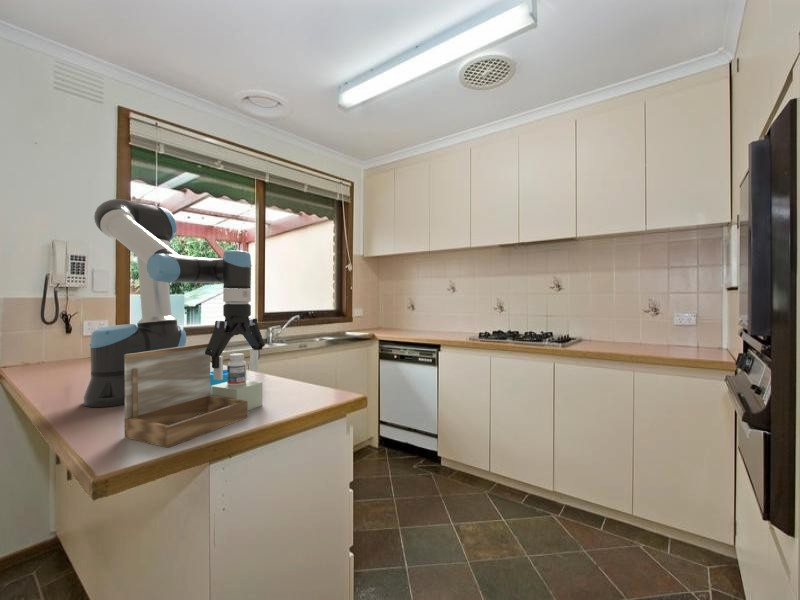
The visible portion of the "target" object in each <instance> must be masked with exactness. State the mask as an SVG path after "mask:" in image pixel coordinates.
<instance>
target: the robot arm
mask: <svg viewBox="0 0 800 600" xmlns="http://www.w3.org/2000/svg"><path fill="white" fill-rule="evenodd" d="M93 218H94V224H95V225H96V227H97V228H98V229H99V231H101V233H103V234H104V235H106V236H107V237H108V238H110V239H115V240H117V241H118V242H119V243H121V244H122V245H123V246H124V247H125V248H127V249H128V250H129V251H130V252H132V253H133V254H134V255H135V256H136V257H137V258H136V259H137V260H136V261H137V270H138V271H137V272H138V282H139V284H138V285H139V293H140V294H139V296H140V307H141V319H140V320H138V322H137V324H134V323H125V324H116V325H109V326H105V327H100V328H97V329H95V330H94V331H93V332H92V333H91V336H90V344H89V347H90V380H89V382H88V385H87V387H86V390H85V393H84V395H83V406H85V407H89V408H105V407H106V408H107V407H115V406H121V405H125V359H124V354H130V353H138V352H145V351H153V350H160V349H167V348H175V347H182V346H186V344H187V332H186V330H185V328H184V327H183V326H182V325H180V324H178V320H177V319H176V318H175V317H174V316H173V315H172V306H171V294H170V293H171V292H170V283H195V284H197V283H198V284H211V285H214V284H223V286H222V289H223V293H222V295H223V296H222V298H223V299H222V301H223V302H224V304H223V306H222V307H223V308H222V310H223V313H222V315H223V317H224V320H216V321H215V323H214V330H213V331H212V334H211V337H210V339H209V341H208V343H209V344H208V346H207V349H206V351H205V354H206V355H209V356H210V358H211V368H212V369H213V371H214V379H216V380H223V370H224V364H223V363H224V357H223V356H222V353H223V351H224V350H225V348H226V347H227V345H228V344H229V342H230V340H231V339H232V338H233V337H234V336H239V335H242V336H243V337H244V339H245V340H246V342H247V343H248V345H249V346H250V347H251V349H250V350H249V371H251V372H252V371H253V372H258V371H259V360H260V351H261V350H263V349H264V348H263V347H265V346H266V343H265V341H264V339H263V335H262V333H261V330H260V328H259V326H258V319H257V318H255V317H253V318H252V317H251V315H252V305H251V301H252V299H251V298H252V297H251V295H252V291H251V290H252V288H251V287H252V261H251V258H252V257H251V253H250V252H248V251H245V250H233V249H231V250H225V251H224V252H223V256H222V258H210V257H209V258H208V257H198V256H197V257H196V256H189V255H188V256H187V255H181V254H179V253H177V252H176V251H174V249H172V248H170V247H169V246H170V245H171V241H173V240H174V238H175V236H176V233H177V231H178V230H177V229H178V227H177V222H176V218H175V216H174V214H173V213H172V212H171V211H170V210H168V209H167V208H164V207H161V206H158V205H154V204H153V205H151V204H147V203H142V202H137V201H131V200H127V199H123V198H122V199H120V198H115V199H114V198H113V199H108V200H106V201H104V202H102V203H101V204H99V206H97V208H96V209H95V212H94V216H93Z"/></svg>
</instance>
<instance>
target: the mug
mask: <svg viewBox="0 0 800 600" xmlns="http://www.w3.org/2000/svg"><path fill="white" fill-rule="evenodd" d="M224 382H227V369H223V380H216V379H214V370H212V371H211V370H210V395H211V386H213V385H217V384H220V383H224Z"/></svg>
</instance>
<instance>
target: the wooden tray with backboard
mask: <svg viewBox="0 0 800 600" xmlns="http://www.w3.org/2000/svg"><path fill="white" fill-rule="evenodd" d="M208 344H209V342H205V343H198V344H191V345H185V346H182V347H175V348H167V349H160V350H153V351H145V352H138V353H130V354H124V359H125V404H124V438H125V439H131V440H135V441H138V442H143V443H147V444H151V445H156V446H159V447H162V448H163V447H164V448H167V449H169V448H172V447H174V446H176V445H179V444H181V443H185V442H188V441H189V440H192V439H194V438H197V437H200V436H203V435H205V434H208V433H210V432H213V431H215V430H218V429H221V428H224V427H226V426H228V425H231V424H234V423H236V422H238V421H242V420H244V419H246V418H247V419H248V411H249V410H248V401H245V400H238V399H232V398H225V397H219V396H212V395H210V372H211V356H209V355H206V354H205V351H206V349H207V346H208Z"/></svg>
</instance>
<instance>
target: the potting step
mask: <svg viewBox="0 0 800 600" xmlns="http://www.w3.org/2000/svg"><path fill="white" fill-rule="evenodd" d="M211 395H212V396H219V397H225V398H232V399H238V400H245V401H248V411H250V410H253V409H256V408H258V407H261V406H263V381H255V380H249V379H246V384H244V385H239V386H230V385H228V384H227V382H224V383H220V384H217V385H213V386H211Z"/></svg>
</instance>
